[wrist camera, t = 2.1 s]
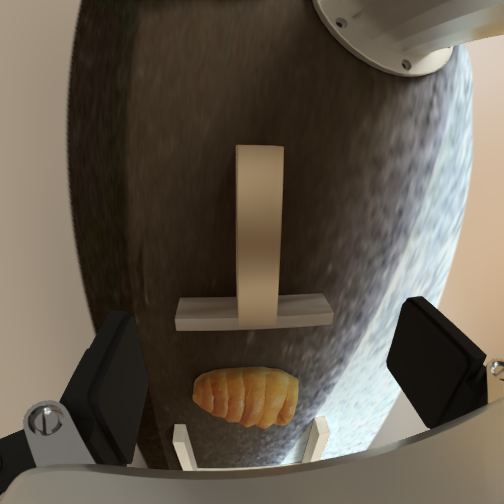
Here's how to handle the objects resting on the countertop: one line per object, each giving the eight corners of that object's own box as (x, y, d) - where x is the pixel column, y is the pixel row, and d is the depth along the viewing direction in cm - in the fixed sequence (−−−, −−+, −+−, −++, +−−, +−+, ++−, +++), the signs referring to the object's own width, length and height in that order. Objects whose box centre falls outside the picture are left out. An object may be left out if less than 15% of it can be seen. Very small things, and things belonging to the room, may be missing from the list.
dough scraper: (170, 147, 18) (157, 148, 15) (334, 148, 19) (357, 151, 16) (181, 308, 23) (174, 339, 19) (320, 303, 24) (336, 332, 20)
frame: (174, 424, 28) (172, 441, 25) (324, 416, 29) (330, 432, 27) (190, 471, 32) (189, 485, 30) (308, 464, 33) (312, 478, 31)
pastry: (191, 402, 27) (189, 432, 23) (197, 354, 25) (194, 385, 21) (282, 409, 28) (288, 437, 25) (300, 363, 26) (310, 393, 22)
